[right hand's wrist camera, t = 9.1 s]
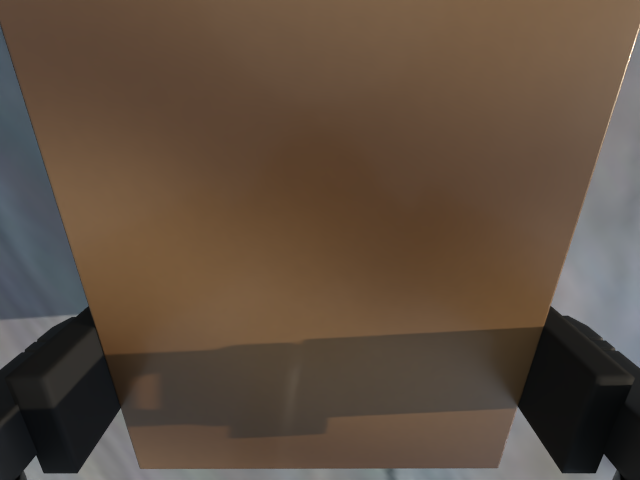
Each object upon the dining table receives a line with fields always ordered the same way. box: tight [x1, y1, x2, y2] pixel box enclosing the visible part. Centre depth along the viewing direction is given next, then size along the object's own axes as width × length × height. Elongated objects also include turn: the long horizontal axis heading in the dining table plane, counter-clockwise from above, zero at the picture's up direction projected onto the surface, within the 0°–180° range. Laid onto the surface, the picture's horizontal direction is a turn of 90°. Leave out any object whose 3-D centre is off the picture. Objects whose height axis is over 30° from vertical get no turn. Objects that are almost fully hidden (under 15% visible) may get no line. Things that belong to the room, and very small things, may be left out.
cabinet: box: [0, 0, 640, 469], centre depth 11 cm, size 20×11×10 cm, turn 0°
